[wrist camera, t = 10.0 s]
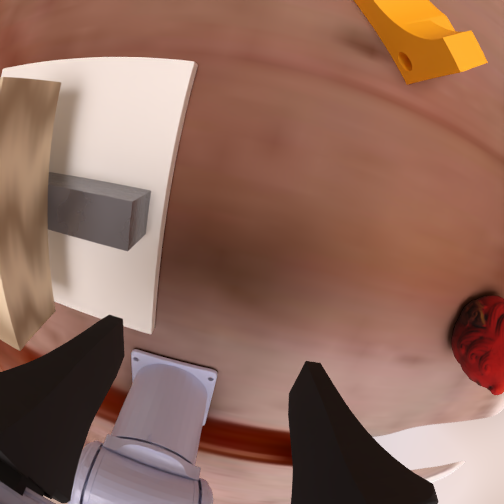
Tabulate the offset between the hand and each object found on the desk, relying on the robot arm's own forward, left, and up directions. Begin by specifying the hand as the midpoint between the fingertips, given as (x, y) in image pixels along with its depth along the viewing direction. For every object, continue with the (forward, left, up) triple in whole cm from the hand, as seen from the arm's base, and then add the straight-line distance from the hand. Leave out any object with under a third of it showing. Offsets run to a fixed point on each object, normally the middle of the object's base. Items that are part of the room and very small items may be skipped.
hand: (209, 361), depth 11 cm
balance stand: (+2, +14, -10) cm, 18 cm away
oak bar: (+2, +14, -6) cm, 15 cm away
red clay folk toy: (-1, -24, -11) cm, 26 cm away
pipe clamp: (+21, -6, -11) cm, 24 cm away
